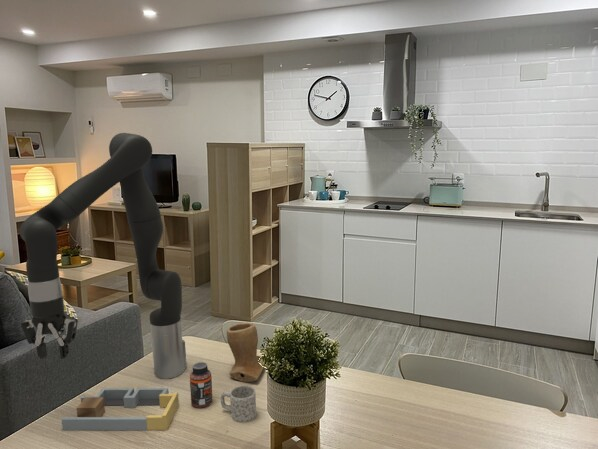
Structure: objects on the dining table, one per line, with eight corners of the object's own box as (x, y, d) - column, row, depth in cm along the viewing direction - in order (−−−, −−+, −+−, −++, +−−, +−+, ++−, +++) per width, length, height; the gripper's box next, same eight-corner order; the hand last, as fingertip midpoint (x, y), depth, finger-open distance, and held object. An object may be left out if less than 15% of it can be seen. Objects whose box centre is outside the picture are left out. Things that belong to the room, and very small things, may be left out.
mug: (260, 410, 126) (259, 387, 125) (249, 424, 120) (248, 400, 119) (227, 403, 129) (226, 382, 128) (215, 417, 123) (214, 394, 122)
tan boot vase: (235, 359, 155) (233, 316, 153) (269, 361, 153) (268, 318, 150) (219, 382, 141) (216, 336, 138) (257, 385, 139) (255, 338, 136)
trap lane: (62, 430, 119) (61, 419, 118) (90, 397, 134) (89, 388, 133) (151, 429, 118) (150, 419, 118) (169, 397, 133) (168, 387, 132)
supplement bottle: (207, 409, 127) (205, 371, 125) (187, 407, 128) (184, 369, 126) (216, 397, 132) (213, 361, 130) (196, 395, 134) (194, 359, 131)
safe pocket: (147, 429, 118) (146, 415, 118) (161, 405, 129) (160, 392, 128) (166, 429, 118) (165, 415, 117) (178, 405, 129) (178, 392, 128)
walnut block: (78, 423, 122) (76, 407, 121) (87, 412, 127) (85, 397, 126) (96, 423, 122) (95, 407, 121) (105, 412, 127) (103, 397, 126)
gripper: (9, 301, 115) (18, 364, 118) (66, 300, 114) (73, 364, 117) (27, 291, 122) (35, 351, 125) (80, 290, 122) (87, 350, 125)
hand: (54, 357), depth 121 cm, fingers open, 5 cm apart
